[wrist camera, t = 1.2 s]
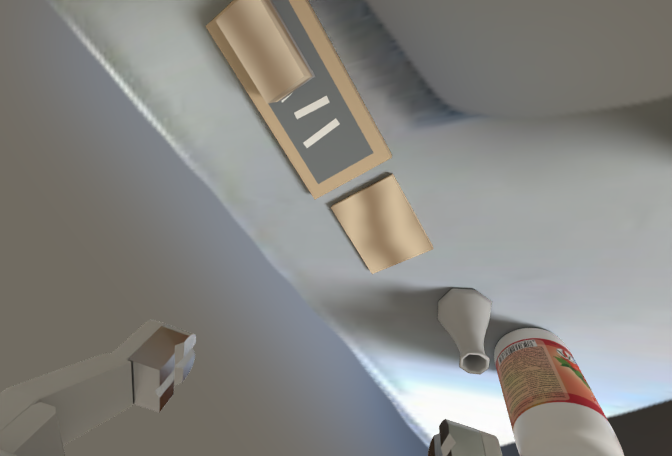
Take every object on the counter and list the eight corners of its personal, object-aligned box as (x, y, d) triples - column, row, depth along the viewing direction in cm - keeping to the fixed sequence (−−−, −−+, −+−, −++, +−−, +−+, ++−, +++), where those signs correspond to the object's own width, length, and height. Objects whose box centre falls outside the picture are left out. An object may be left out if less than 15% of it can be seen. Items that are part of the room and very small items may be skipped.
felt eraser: (269, -5, 35) (252, -14, 32) (315, 76, 37) (304, 76, 34) (235, 26, 37) (215, 20, 34) (280, 101, 39) (266, 103, 36)
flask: (428, 319, 49) (431, 374, 40) (447, 279, 46) (455, 329, 37) (478, 336, 48) (492, 395, 39) (501, 297, 45) (522, 352, 36)
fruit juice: (497, 321, 47) (587, 605, 22) (574, 329, 44) (773, 652, 20) (488, 373, 50) (556, 665, 25) (559, 382, 48) (709, 710, 23)
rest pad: (392, 173, 41) (392, 175, 41) (433, 246, 44) (433, 249, 43) (332, 205, 45) (330, 207, 44) (372, 271, 48) (372, 274, 47)
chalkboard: (286, -40, 35) (280, -45, 34) (392, 155, 41) (391, 157, 39) (212, 27, 39) (205, 26, 38) (318, 195, 45) (314, 199, 43)
